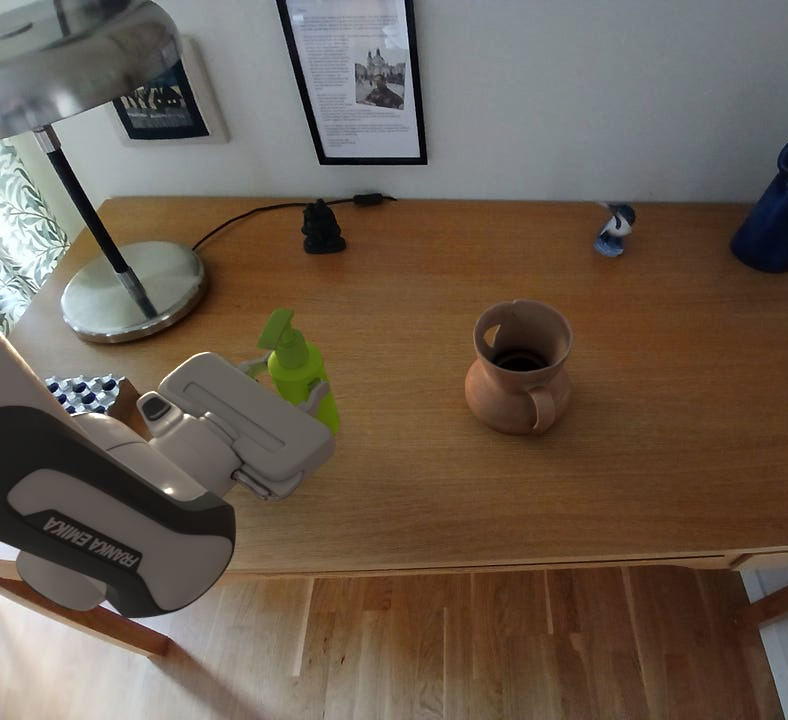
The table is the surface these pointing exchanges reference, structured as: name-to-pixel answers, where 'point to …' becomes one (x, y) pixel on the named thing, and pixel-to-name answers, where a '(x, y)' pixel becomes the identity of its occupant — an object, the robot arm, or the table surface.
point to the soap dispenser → (296, 365)
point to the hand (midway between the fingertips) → (301, 369)
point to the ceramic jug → (520, 368)
